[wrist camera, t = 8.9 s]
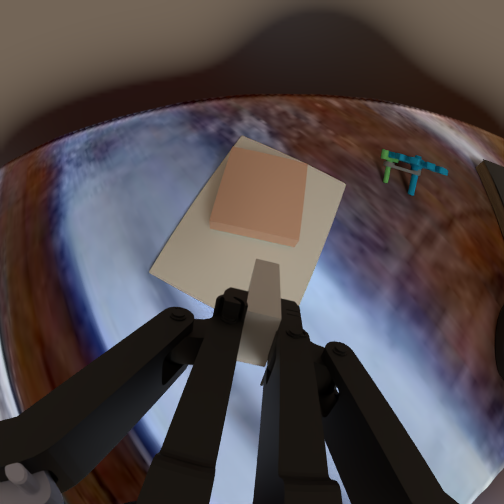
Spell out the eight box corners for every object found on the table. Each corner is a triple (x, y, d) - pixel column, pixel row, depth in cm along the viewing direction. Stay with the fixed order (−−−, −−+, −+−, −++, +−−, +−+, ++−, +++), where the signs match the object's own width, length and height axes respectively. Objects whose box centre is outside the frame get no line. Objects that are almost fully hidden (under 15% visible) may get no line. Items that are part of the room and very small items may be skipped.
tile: (299, 240, 27) (307, 163, 30) (209, 220, 26) (232, 146, 30) (293, 249, 29) (302, 175, 33) (209, 230, 29) (231, 159, 32)
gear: (430, 162, 36) (461, 169, 27) (423, 195, 38) (452, 210, 29) (372, 144, 37) (393, 145, 28) (366, 180, 39) (384, 191, 30)
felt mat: (344, 185, 33) (346, 184, 33) (281, 341, 26) (282, 341, 26) (241, 137, 34) (241, 135, 34) (149, 273, 27) (149, 272, 26)
